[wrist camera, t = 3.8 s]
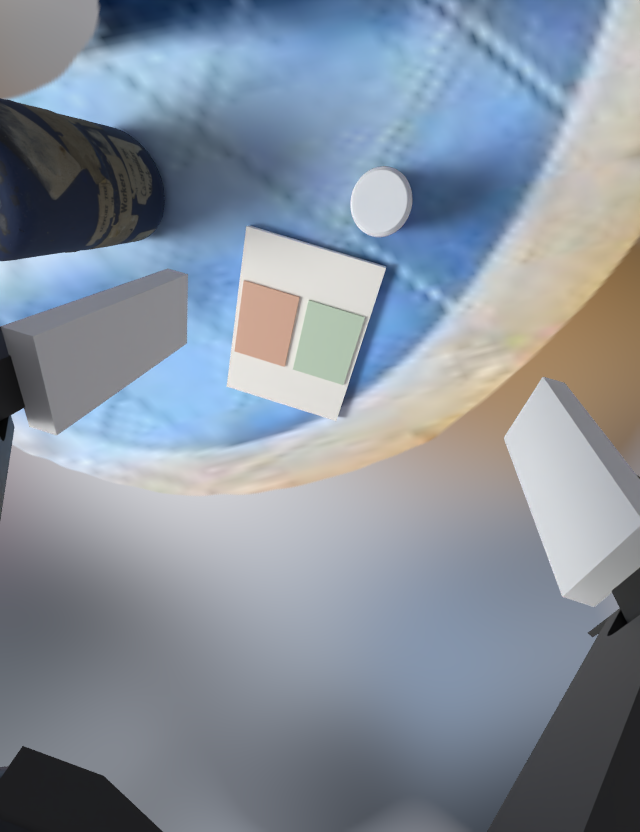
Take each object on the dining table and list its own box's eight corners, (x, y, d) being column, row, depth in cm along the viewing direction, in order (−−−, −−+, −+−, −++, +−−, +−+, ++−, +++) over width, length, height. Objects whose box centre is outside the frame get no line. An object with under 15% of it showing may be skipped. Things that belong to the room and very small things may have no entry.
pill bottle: (386, 243, 35) (382, 254, 28) (347, 209, 34) (333, 211, 27) (422, 196, 32) (428, 195, 25) (381, 158, 32) (375, 146, 25)
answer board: (249, 225, 36) (245, 226, 35) (386, 266, 36) (385, 268, 35) (229, 383, 46) (225, 387, 45) (337, 416, 45) (335, 422, 44)
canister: (188, 222, 37) (40, 237, 22) (117, 254, 40) (-55, 287, 25) (137, 108, 33) (-88, 30, 18) (62, 153, 36) (-184, 119, 21)
